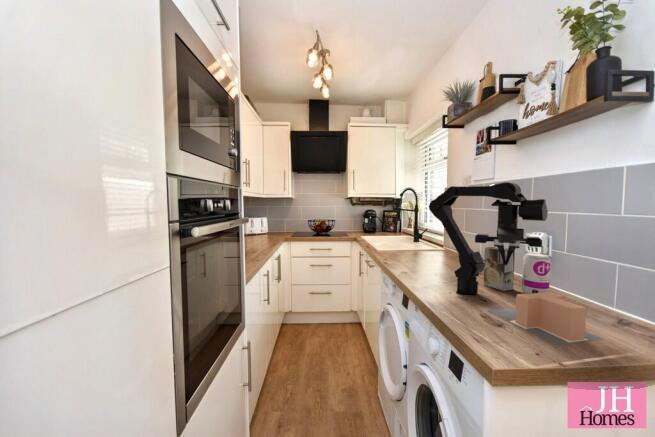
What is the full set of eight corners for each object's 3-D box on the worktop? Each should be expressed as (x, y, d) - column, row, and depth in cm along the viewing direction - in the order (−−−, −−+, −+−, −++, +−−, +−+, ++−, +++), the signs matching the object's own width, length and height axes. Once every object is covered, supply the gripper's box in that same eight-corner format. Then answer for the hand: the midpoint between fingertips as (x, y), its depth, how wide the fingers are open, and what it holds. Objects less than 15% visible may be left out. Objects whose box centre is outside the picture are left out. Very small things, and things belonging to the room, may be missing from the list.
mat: (485, 311, 85) (485, 310, 85) (524, 308, 88) (524, 307, 88) (556, 346, 64) (556, 345, 64) (604, 340, 67) (604, 339, 67)
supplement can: (553, 298, 99) (556, 257, 98) (528, 296, 101) (530, 256, 100) (541, 291, 107) (543, 253, 106) (517, 289, 108) (519, 252, 108)
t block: (515, 322, 76) (516, 294, 76) (549, 319, 79) (551, 292, 79) (557, 342, 65) (559, 310, 65) (596, 338, 68) (598, 306, 67)
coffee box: (514, 289, 109) (516, 249, 108) (503, 291, 106) (505, 250, 106) (492, 283, 117) (494, 246, 117) (482, 284, 115) (483, 247, 114)
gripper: (474, 219, 91) (472, 265, 92) (545, 221, 81) (542, 273, 81) (477, 218, 100) (475, 260, 101) (541, 220, 90) (538, 266, 91)
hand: (505, 265), depth 93 cm, fingers closed
